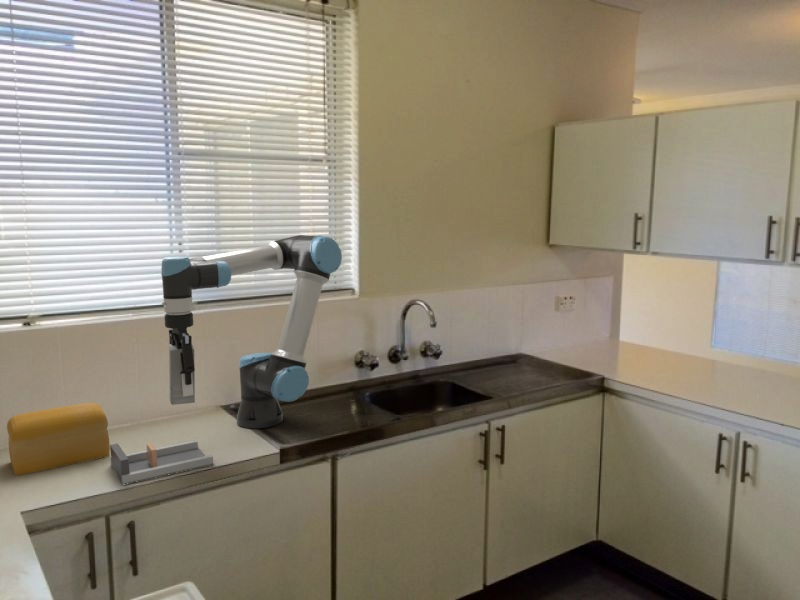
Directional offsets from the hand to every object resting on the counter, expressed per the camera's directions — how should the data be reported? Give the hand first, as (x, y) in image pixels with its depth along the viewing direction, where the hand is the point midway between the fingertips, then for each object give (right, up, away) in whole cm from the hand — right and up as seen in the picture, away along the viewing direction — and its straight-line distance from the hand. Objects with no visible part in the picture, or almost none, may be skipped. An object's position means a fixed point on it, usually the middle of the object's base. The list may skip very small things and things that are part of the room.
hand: (183, 391), depth 188 cm
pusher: (-8, -20, -2) cm, 21 cm away
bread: (-37, -20, +5) cm, 42 cm away
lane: (-6, -21, -1) cm, 21 cm away
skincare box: (0, -3, 0) cm, 3 cm away
